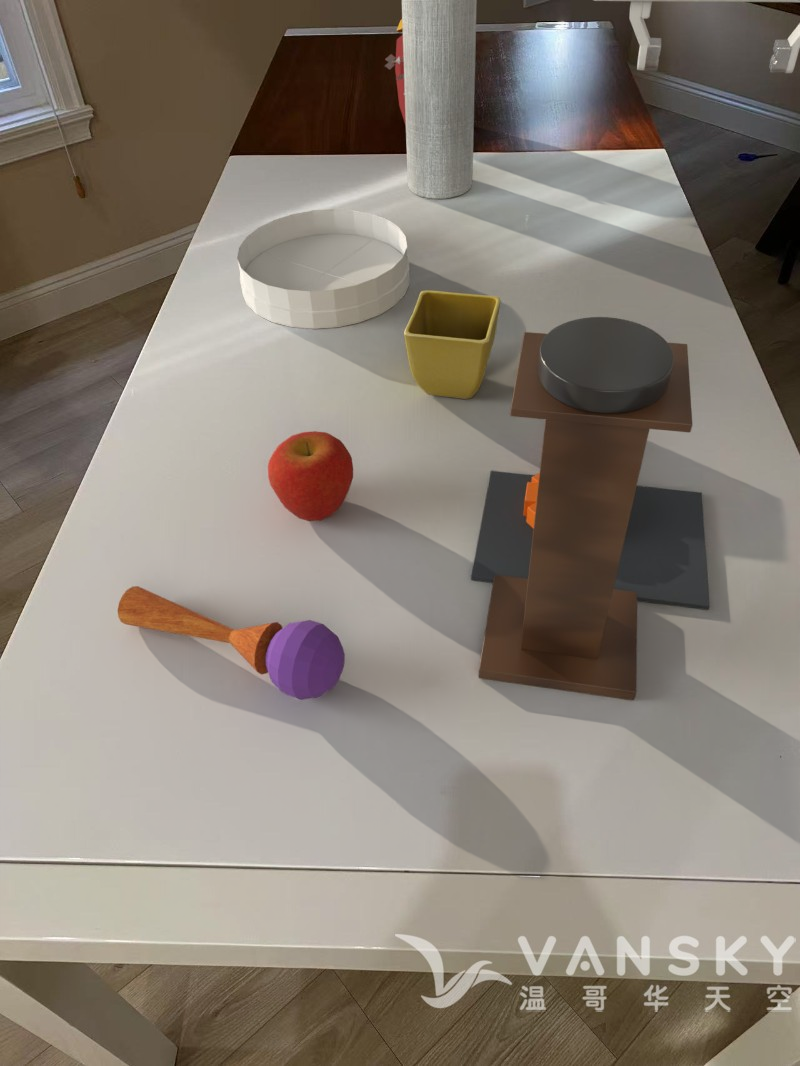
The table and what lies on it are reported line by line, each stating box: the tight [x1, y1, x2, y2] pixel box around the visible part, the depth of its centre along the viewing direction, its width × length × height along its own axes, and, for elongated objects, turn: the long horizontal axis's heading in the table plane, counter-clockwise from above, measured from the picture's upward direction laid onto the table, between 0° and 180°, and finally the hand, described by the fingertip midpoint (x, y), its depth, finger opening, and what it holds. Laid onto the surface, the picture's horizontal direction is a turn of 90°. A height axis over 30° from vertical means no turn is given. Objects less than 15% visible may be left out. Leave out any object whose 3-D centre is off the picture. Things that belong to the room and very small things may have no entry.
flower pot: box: [403, 290, 502, 400], centre depth 89 cm, size 9×9×9 cm
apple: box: [267, 430, 354, 522], centre depth 77 cm, size 8×8×8 cm
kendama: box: [117, 585, 346, 700], centre depth 66 cm, size 6×6×20 cm
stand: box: [478, 316, 693, 701], centre depth 58 cm, size 12×10×28 cm
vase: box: [401, 0, 478, 200], centre depth 118 cm, size 10×10×27 cm
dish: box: [236, 208, 411, 330], centre depth 107 cm, size 22×22×5 cm
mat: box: [470, 470, 711, 611], centre depth 75 cm, size 20×14×1 cm
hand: (712, 69), depth 61 cm, fingers open, 8 cm apart
